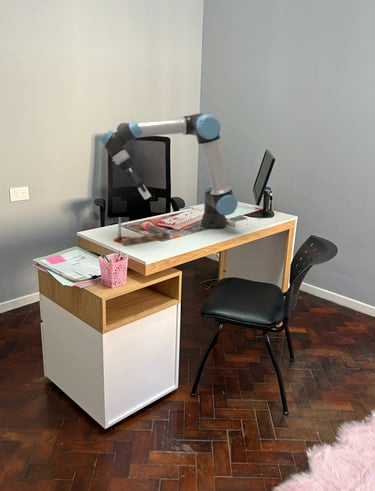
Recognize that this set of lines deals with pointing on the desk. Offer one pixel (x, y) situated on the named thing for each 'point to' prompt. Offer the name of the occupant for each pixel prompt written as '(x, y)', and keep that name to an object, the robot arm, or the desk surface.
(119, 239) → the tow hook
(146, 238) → the guide track
